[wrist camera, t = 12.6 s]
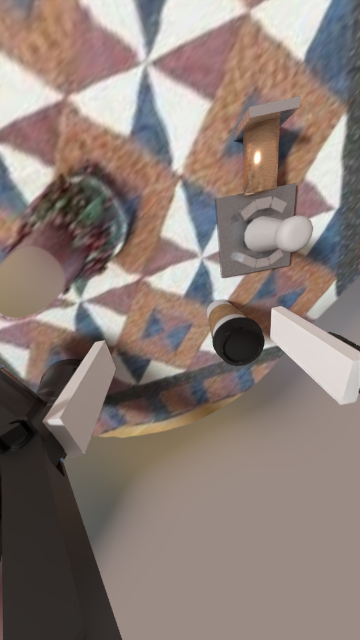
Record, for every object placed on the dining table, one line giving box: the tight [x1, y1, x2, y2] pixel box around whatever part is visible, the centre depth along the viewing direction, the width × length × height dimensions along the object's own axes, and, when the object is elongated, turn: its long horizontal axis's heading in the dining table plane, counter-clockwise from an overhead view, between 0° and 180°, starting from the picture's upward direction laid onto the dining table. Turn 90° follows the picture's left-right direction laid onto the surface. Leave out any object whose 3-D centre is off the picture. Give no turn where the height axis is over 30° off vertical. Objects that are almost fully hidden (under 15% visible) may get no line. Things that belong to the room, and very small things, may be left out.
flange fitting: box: [215, 96, 300, 278], centre depth 31 cm, size 14×22×6 cm, turn 10°
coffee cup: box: [207, 300, 265, 366], centre depth 35 cm, size 8×8×15 cm
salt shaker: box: [245, 216, 313, 252], centre depth 29 cm, size 6×6×13 cm
